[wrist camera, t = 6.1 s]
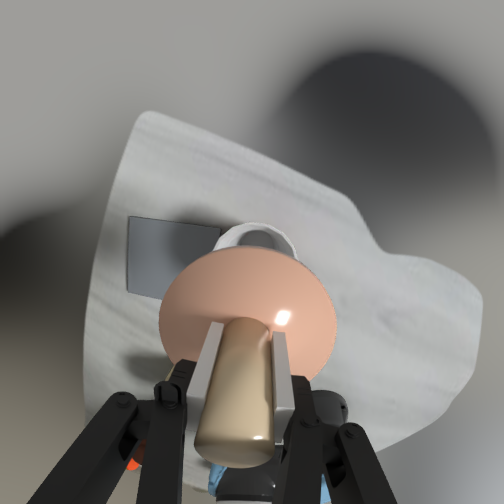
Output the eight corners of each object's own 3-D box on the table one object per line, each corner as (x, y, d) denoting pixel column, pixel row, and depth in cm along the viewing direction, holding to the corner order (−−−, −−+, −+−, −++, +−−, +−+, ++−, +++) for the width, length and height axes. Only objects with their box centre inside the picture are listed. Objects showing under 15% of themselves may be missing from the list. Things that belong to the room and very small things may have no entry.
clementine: (134, 461, 63) (128, 475, 56) (117, 450, 62) (110, 464, 55) (145, 456, 61) (139, 472, 54) (127, 445, 60) (119, 460, 53)
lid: (352, 260, 17) (436, 341, 7) (309, 398, 20) (326, 500, 10) (167, 232, 17) (69, 288, 7) (164, 377, 20) (120, 472, 10)
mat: (221, 228, 44) (220, 229, 43) (211, 307, 47) (211, 309, 46) (131, 216, 44) (129, 216, 43) (129, 290, 47) (128, 292, 46)
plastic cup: (251, 198, 42) (247, 203, 31) (303, 242, 44) (317, 262, 32) (209, 250, 44) (191, 273, 33) (260, 290, 46) (259, 324, 34)
